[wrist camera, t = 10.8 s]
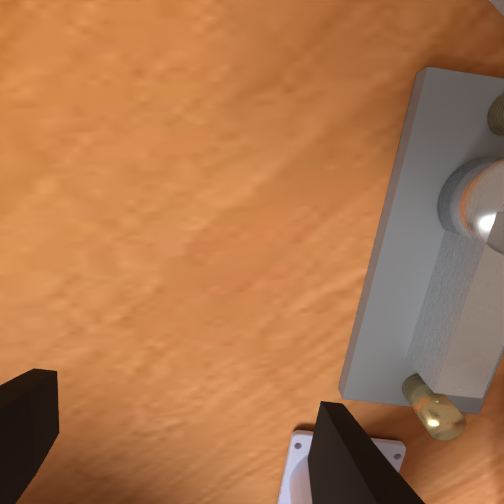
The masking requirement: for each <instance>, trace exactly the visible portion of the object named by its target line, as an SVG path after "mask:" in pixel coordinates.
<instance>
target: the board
mask: <svg viewBox="0 0 504 504" xmlns="http://www.w3.org/2000/svg"><path fill="white" fill-rule="evenodd" d="M503 94H504V78H497V77H491V76H485V75H479V74H472V73H466V72H460V71H454V70H447V69H441V68H435V67H426V68H424V69H423V70H421V71H419V72H417V75H416V79H415V83H414V87H413V91H412V95H411V99H410V103H409V107H408V111H407V115H406V119H405V123H404V127H403V131H402V135H401V139H400V143H399V147H398V151H397V155H396V159H395V163H394V167H393V171H392V175H391V179H390V183H389V187H388V191H387V195H386V199H385V203H384V207H383V211H382V215H381V219H380V222H379V226H378V230H377V234H376V238H375V242H374V246H373V250H372V254H371V258H370V262H369V266H368V270H367V274H366V278H365V282H364V286H363V290H362V294H361V298H360V302H359V306H358V310H357V314H356V318H355V322H354V326H353V330H352V334H351V338H350V342H349V346H348V350H347V354H346V358H345V362H344V366H343V370H342V374H341V378H340V382H339V386H338V389H339V392H340V394H341V397H342V399H347V400H356V401H365V402H373V403H382V404H391V405H400V406H408V407H411V406H410V404H409V403H408V401H407V400H406V398H405V397H404V395H403V393H402V384H403V382H404V381H405V380H406V379H407V378H408V377H409V376H411V375H414V374H418V373H417V372H416V370H415V369H414V368H413V367H412V365H411V364H410V363H409V362H408V361H407V359H406V355H407V352H408V349H409V346H410V342H411V339H412V336H413V333H414V329H415V326H416V323H417V320H418V316H419V313H420V310H421V307H422V303H423V300H424V297H425V294H426V291H427V287H428V284H429V281H430V278H431V274H432V271H433V268H434V265H435V261H436V258H437V255H438V252H439V249H440V245H441V242H442V239H443V236H444V232H445V230H444V228H443V227H442V225H441V223H440V221H439V218H438V214H437V201H438V196H439V193H440V190H441V188H442V186H443V184H444V183H445V181H446V180H447V178H448V177H449V176H450V175H451V174H452V173H453V172H454V171H455V170H456V169H457V168H459V167H460V166H462V165H463V164H465V163H467V162H469V161H471V160H474V159H478V158H487V157H504V136H499V135H496V134H494V133H493V132H492V131H491V130H490V128H489V126H488V123H487V114H488V110H489V108H490V106H491V104H492V103H493V102H494V101H495V100H496V99H497V98H498V97H499V96H501V95H503ZM503 352H504V345H503V348H502V350H501V353H500V355H499V358H498V360H497V363H496V365H495V368H494V370H493V373H492V375H491V378H490V380H489V383H488V385H487V388H486V390H485V393H484V395H483V398H482V399H481V398H473V397H464V396H456V395H447V394H445V395H446V396H447V397H448V399H449V400H450V401H451V402H452V403H453V404H454V406H455V407H456V408H457V409H458V410H459V411H460V412H461V413H469V414H479V412H480V409H481V407H482V404H483V402H484V399H485V397H486V394H487V392H488V390H489V387H490V385H491V382H492V380H493V377H494V375H495V372H496V370H497V367H498V365H499V362H500V360H501V357H502V355H503Z"/></svg>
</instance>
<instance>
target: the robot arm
mask: <svg viewBox="0 0 504 504" xmlns="http://www.w3.org/2000/svg"><path fill="white" fill-rule="evenodd" d="M58 434H59V411H58V382H57V371H52V370H43V369H32V370H30V371H28V372H26V373H24V374H22V375H20V376H18V377H16V378H14V379H12V380H10V381H8V382H6V383H4V384H2V385H0V504H15V503H16V502H17V500H18V499H19V498H20V496H21V495H22V493H23V492H24V490H25V489H26V488H27V486H28V485H29V483H30V482H31V480H32V479H33V477H34V476H35V475H36V473H37V471H38V469H39V468H40V466H41V464H42V463H43V461H44V459H45V457H46V456H47V454H48V452H49V450H50V449H51V447H52V445H53V443H54V441H55V439H56V438H57V436H58ZM296 443H299V444H296ZM405 453H406V447H405V445H404V444H403V443H402V442H401V441H395V440H386V439H377V438H370V437H369V436H368V435H367V434H366V432H365V431H364V430H363V429H362V427H361V426H360V425H359V423H358V422H357V421H356V420H355V418H354V417H353V416H352V415H351V413H350V412H349V411H348V410H347V408H346V407H345V406H344V405H343V404H342V403H333V402H324V401H321V403H320V408H319V412H318V416H317V420H316V424H315V429H314V432H313V431H304V430H296V431H294V432H293V433H292V435H291V440H290V444H289V449H288V454H287V458H286V463H285V468H284V473H283V477H282V482H281V487H280V491H279V496H278V501H277V504H425V503H424V502H423V501H422V500H421V498H420V497H419V496H418V495H417V494H416V493H415V492H414V490H413V489H412V488H411V487H410V486H409V485H408V483H407V482H406V481H405V480H404V479H403V478H402V476H401V475H400V474H399V470H400V467H401V464H402V461H403V459H404V456H405Z"/></svg>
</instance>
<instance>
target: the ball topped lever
mask: <svg viewBox="0 0 504 504" xmlns="http://www.w3.org/2000/svg"><path fill="white" fill-rule="evenodd" d="M437 214H438V218H439V221H440V223H441V225H442V227H443V228H444V230H445V232H444V236H443V239H442V242H441V245H440V249H439V252H438V255H437V258H436V261H435V265H434V268H433V271H432V274H431V278H430V281H429V284H428V287H427V291H426V294H425V297H424V300H423V303H422V307H421V310H420V313H419V316H418V320H417V323H416V326H415V329H414V333H413V336H412V339H411V342H410V346H409V349H408V352H407V355H406V359H407V361H408V362H409V363H410V364H411V365H412V367H413V368H414V369H415V370H416V372H417V373H418V374H419V375H420V377H421V378H422V379H423V380H424V381H425V383H426V384H427V385H428V386H429V388H430V389H431V390H432V391H433V393H439V394H447V395H456V396H464V397H473V398H481V399H482V398H483V395H484V393H485V390H486V388H487V385H488V383H489V380H490V378H491V375H492V373H493V370H494V368H495V365H496V363H497V360H498V358H499V355H500V353H501V350H502V348H503V345H504V157H487V158H478V159H474V160H471V161H469V162H467V163H465V164H463V165H462V166H460V167H459V168H457V169H456V170H455V171H454V172H453V173H452V174H451V175H450V176H449V177H448V178H447V180H446V181H445V183H444V184H443V186H442V188H441V190H440V193H439V196H438V201H437Z"/></svg>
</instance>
